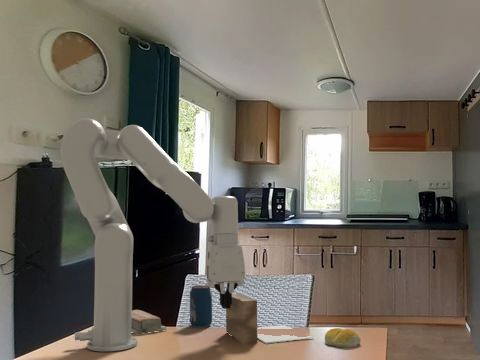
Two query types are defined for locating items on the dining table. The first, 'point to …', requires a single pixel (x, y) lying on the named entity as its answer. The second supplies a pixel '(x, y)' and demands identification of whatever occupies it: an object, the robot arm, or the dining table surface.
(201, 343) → the dining table surface
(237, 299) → the wooden block
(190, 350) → the dining table surface
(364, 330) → the dining table surface
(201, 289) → the soda can
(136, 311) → the packaged product
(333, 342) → the bread roll
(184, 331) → the dining table surface
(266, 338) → the mat
